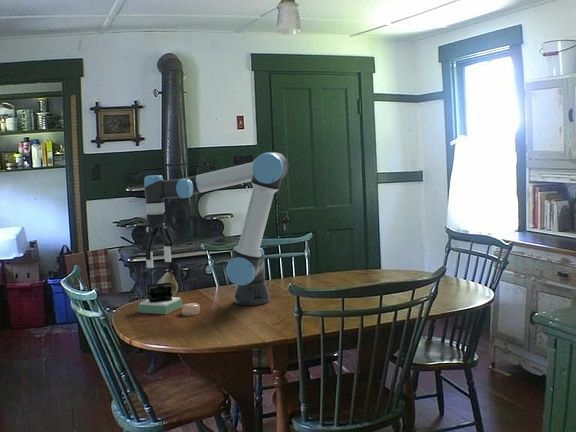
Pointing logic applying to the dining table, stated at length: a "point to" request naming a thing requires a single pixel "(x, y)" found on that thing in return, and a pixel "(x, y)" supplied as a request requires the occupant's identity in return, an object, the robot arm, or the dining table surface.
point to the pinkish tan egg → (190, 309)
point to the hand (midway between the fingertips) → (159, 264)
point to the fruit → (170, 279)
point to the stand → (160, 306)
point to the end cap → (159, 292)
